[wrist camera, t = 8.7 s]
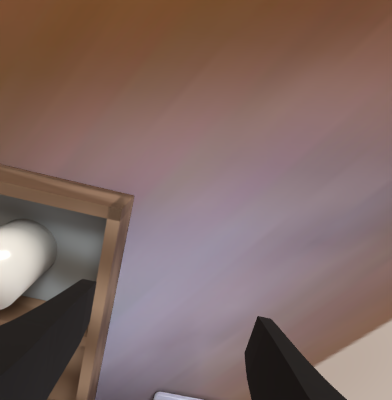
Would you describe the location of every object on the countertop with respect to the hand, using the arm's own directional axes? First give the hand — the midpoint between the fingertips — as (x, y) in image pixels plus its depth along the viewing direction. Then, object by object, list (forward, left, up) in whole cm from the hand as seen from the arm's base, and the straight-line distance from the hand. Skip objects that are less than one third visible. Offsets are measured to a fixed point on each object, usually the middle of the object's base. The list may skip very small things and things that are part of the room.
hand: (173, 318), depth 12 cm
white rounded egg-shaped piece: (-3, +11, -8) cm, 14 cm away
